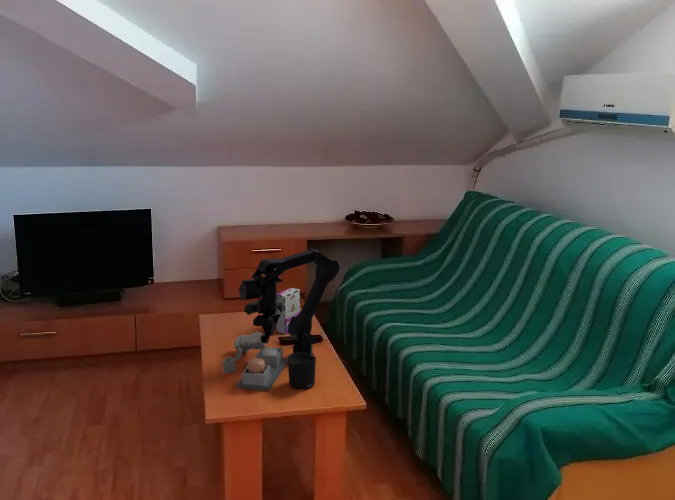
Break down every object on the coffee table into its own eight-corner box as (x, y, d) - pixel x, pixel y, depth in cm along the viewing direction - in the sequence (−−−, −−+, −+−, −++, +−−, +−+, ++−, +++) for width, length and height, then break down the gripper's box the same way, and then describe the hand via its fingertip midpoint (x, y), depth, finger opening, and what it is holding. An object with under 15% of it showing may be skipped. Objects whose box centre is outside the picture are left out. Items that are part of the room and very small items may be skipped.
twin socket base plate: (287, 362, 248) (287, 348, 247) (269, 391, 225) (268, 375, 224) (258, 360, 250) (258, 346, 249) (237, 388, 227) (236, 372, 226)
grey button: (279, 358, 247) (279, 348, 246) (275, 364, 242) (275, 354, 241) (264, 357, 248) (264, 346, 247) (260, 363, 243) (260, 352, 242)
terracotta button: (266, 370, 231) (266, 359, 230) (262, 376, 226) (261, 365, 225) (251, 368, 232) (250, 357, 231) (245, 375, 227) (245, 364, 226)
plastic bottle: (246, 354, 259) (272, 350, 243) (230, 351, 255) (255, 346, 239) (249, 337, 261) (274, 332, 245) (233, 334, 257) (258, 328, 241)
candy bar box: (291, 324, 287) (290, 287, 283) (300, 326, 285) (300, 289, 281) (275, 332, 278) (274, 294, 274) (285, 334, 275) (284, 296, 271)
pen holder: (288, 391, 225) (288, 363, 223) (287, 379, 234) (287, 352, 232) (316, 390, 226) (317, 362, 224) (314, 378, 235) (314, 351, 233)
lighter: (224, 373, 238) (223, 352, 237) (223, 371, 240) (222, 350, 238) (243, 369, 242) (243, 348, 240) (242, 368, 243) (241, 347, 241)
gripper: (254, 286, 249) (255, 326, 253) (238, 301, 231) (239, 344, 235) (284, 288, 247) (284, 328, 251) (269, 304, 229) (270, 347, 233)
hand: (269, 337), depth 243 cm, fingers open, 3 cm apart
